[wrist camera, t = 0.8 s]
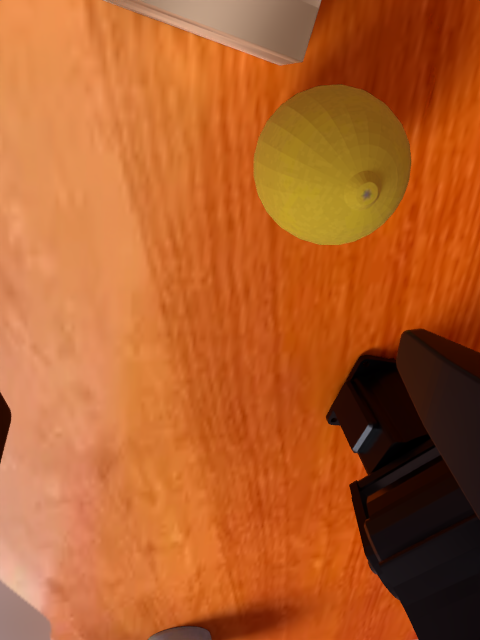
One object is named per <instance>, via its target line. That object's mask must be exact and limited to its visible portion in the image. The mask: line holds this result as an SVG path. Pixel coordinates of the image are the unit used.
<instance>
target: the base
mask: <svg viewBox="0 0 480 640" xmlns="http://www.w3.org/2000/svg"><path fill="white" fill-rule="evenodd" d="M104 1H106V2H109V3H112V4H114V5H117V6H120V7H123V8H125V9H128V10H131V11H133V12H136V13H139V14H142V15H144V16H147V17H150V18H153V19H155V20H158V21H161V22H163V23H166V24H169V25H172V26H174V27H177V28H180V29H182V30H185V31H188V32H191V33H193V34H196V35H199V36H202V37H204V38H207V39H210V40H212V41H215V42H218V43H221V44H223V45H226V46H229V47H231V48H234V49H237V50H240V51H242V52H245V53H248V54H251V55H253V56H256V57H259V58H261V59H264V60H267V61H270V62H272V63H275V64H278V65H286V64H292V63H299V62H303V59H304V56H305V53H306V49H307V46H308V43H309V39H310V36H311V33H312V30H313V26H314V23H315V20H316V16H317V13H318V10H319V7H320V3H321V0H104Z"/></svg>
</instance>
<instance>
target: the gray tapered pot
mask: <svg viewBox="0 0 480 640" xmlns="http://www.w3.org/2000/svg"><path fill="white" fill-rule="evenodd" d="M148 640H211V635H210V632H209V631H208V630H206V629H204V628H200V627H191V626H188V627H185V626H184V627H177V628H172V629H168V630H164V631H161V632H159V633H156V634H154V635H153V636H151V637H150V638H149V639H148Z"/></svg>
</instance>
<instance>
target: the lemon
mask: <svg viewBox="0 0 480 640" xmlns="http://www.w3.org/2000/svg"><path fill="white" fill-rule="evenodd" d="M410 169H411V153H410V144H409V141H408V139H407V136H406V133H405V131H404V128H403V126H402V124H401V122H400V121H399V120H398V118H397V117H396V116H395V115H394V113H393V112H392V111H391V110H390V108H389V107H388V106H387V105H386V104H385V103H383V102H382V101H380V100H379V99H377V98H376V97H374V96H373V95H371V94H370V93H368V92H367V91H364V90H362V89H358V88H354V87H350V86H346V85H341V84H337V85H324V86H316V87H314V88H311V89H308V90H306V91H303V92H300V93H297V94H296V95H294V96H293V97H292V98H290V99H289V100H287V101H286V102H285V103H283V104H282V105H281V106H280V107H279V108H278V109H277V110H276V111H275V112H274V114H273V115H272V116H271V117H270V118H269V120H268V121H267V123H266V125H265V127H264V128H263V130H262V132H261V134H260V136H259V139H258V142H257V146H256V150H255V154H254V179H255V184H256V188H257V193H258V196H259V198H260V200H261V202H262V204H263V206H264V208H265V210H266V211H267V213H268V214H269V215H270V216H271V217H272V218H273V219H274V220H275V222H276V223H277V224H278V225H279V226H280V227H281V228H283V229H284V230H286V231H288V232H289V233H291V234H292V235H294V236H296V237H297V238H299V239H302V240H305V241H309V242H312V243H316V244H320V245H340V244H345V243H349V242H353V241H356V240H358V239H360V238H362V237H365V236H367V235H369V234H371V233H372V232H373V231H375V230H376V229H377V228H379V227H380V226H381V225H383V224H384V223H385V222H386V220H387V219H388V218H389V217H390V216H391V215H392V214H393V213H394V211H395V210H396V208H397V207H398V205H399V203H400V202H401V200H402V198H403V196H404V193H405V190H406V188H407V185H408V182H409V176H410Z"/></svg>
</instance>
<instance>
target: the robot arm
mask: <svg viewBox="0 0 480 640" xmlns="http://www.w3.org/2000/svg"><path fill="white" fill-rule="evenodd" d="M364 362H366V363H364ZM363 363H364V364H363ZM326 419H327V422H328V423H329V424H331V425H339V426H341V428H342V430H343V432H344V434H345V436H346V438H347V441H348V443H349V445H350V447H351V449H352V451H353V452H354V453H358V455H359V457H360V459H361V461H362V463H363V465H364V468H365V470H366V472H367V474H368V475H367V476H366V477H364V478H362V479H361V480H359V481H357V480H356V481H354V482H353V483H351V484H350V485H349V486H350V490H351V494H352V502H353V506H354V510H355V515H356V519H357V523H358V527H359V531H360V535H361V540H362V544H363V548H364V552H365V555H366V557H367V559H368V564H369V566H370V568H371V570H372V571H373V572H374V573H375V574H377V575H378V576H379V578H380V579H381V581H382V582H383V584H384V585H385V587H386V588H387V589H388V590H389V592H390V593H391V594H392V595H393V596H394V597H395V598H397V599H398V600H400V602H401V603H402V605H403V607H404V609H405V611H406V613H407V615H408V617H409V619H410V622H411V624H412V626H413V628H414V630H415V632H416V635H417V637H418V639H419V640H480V353H479V352H477V351H474V350H472V349H469V348H467V347H465V346H462V345H460V344H458V343H455V342H453V341H450V340H448V339H446V338H443V337H441V336H439V335H436V334H434V333H431V332H429V331H427V330H424V329H413V330H406V331H404V332H403V333H402V335H401V339H400V343H399V348H398V353H397V357H396V360H394V359H388V358H382V357H375V356H369V355H364V356H361V357H360V358H359V359H358V360H357V362H356V363H355V365H354V367H353V369H352V371H351V372H350V374H349V376H348V378H347V380H346V381H345V383H344V385H343V387H342V389H341V390H340V392H339V394H338V396H337V398H336V399H335V401H334V403H333V405H332V407H331V408H330V410H329V412H328V414H327V415H326ZM10 423H11V411H10V408H9V407H8V405H7V403H6V401H5V400H4V398H3V396H2V394H1V392H0V463H1V459H2V455H3V451H4V447H5V443H6V439H7V435H8V431H9V427H10Z"/></svg>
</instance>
